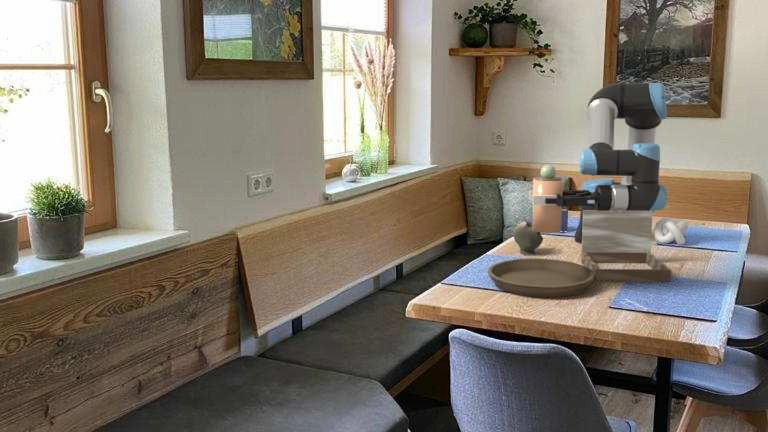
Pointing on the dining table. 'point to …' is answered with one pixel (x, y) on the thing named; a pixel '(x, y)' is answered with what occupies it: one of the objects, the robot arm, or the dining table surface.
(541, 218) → the pink canister
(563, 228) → the purple square panel
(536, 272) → the plant saucer
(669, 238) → the white knot sculpture
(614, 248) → the cold frame
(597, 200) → the robot arm
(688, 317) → the dining table surface
